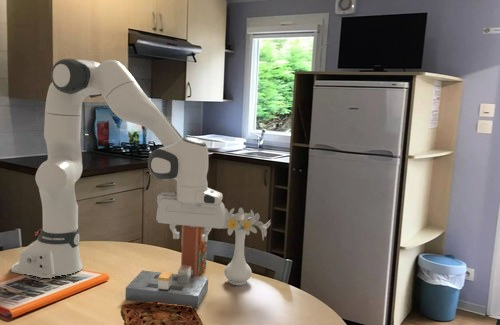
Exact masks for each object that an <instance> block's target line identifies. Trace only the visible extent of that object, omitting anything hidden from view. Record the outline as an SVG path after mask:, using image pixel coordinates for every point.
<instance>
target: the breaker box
mask: <svg viewBox="0 0 500 325" xmlns="http://www.w3.org/2000/svg"><path fill="white" fill-rule="evenodd" d="M161 273H162V272H160V271H152V270H141V271H140V272H139V273H138V274H137V275H136V276H135V277H134V279H132V281H130V282H129V283H128V285H127V286H125V301H128V302H134V303H135V302H136V303H137V302H138V303H143V302H159V303H168V304H177V305H185V306H192V307H193V308H192V309H195V310H199V307H200V305H201V303H202V301H203V300H204V297H205V296H206V294H207V292H208V290H209V277H207V276H206V277H205V276H191V266H186V265H182V266H181V265H180V267H179V268H178V269H177V273H173V276H172V285H171V286H170V288H169V289H168V290H166V289H158V277H159V276H160V275H161Z"/></svg>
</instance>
